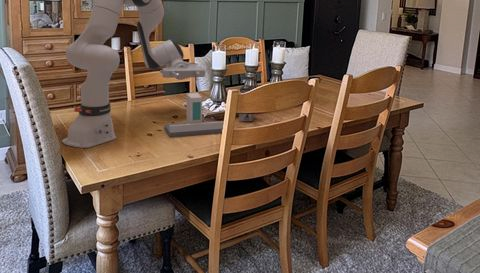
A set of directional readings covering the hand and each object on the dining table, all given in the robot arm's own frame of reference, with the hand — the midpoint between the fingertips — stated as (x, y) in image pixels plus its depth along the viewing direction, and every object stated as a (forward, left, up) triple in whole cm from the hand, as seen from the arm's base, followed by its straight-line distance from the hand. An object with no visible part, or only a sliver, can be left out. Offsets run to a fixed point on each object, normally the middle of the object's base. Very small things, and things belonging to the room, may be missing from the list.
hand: (187, 75), depth 226 cm
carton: (-8, -8, -20) cm, 23 cm away
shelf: (-8, -9, -22) cm, 25 cm away
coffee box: (+20, -22, -23) cm, 37 cm away
